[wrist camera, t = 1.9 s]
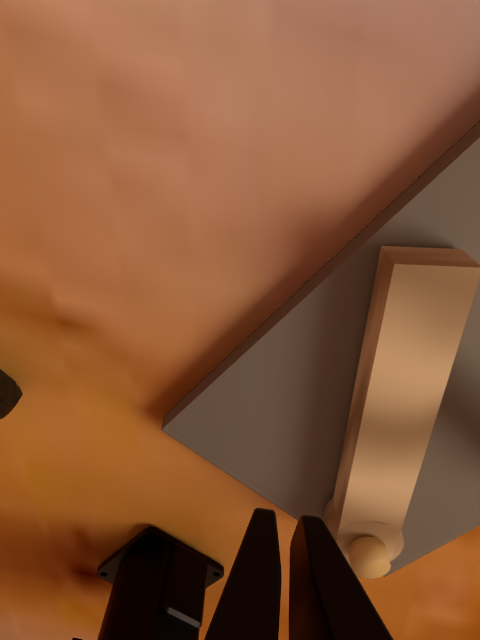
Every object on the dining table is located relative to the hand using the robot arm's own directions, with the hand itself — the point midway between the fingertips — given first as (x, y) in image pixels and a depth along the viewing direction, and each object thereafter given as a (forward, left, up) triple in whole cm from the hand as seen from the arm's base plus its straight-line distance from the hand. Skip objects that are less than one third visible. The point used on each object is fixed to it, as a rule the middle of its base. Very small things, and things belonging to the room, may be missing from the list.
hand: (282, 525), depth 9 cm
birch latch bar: (-2, -9, -12) cm, 15 cm away
